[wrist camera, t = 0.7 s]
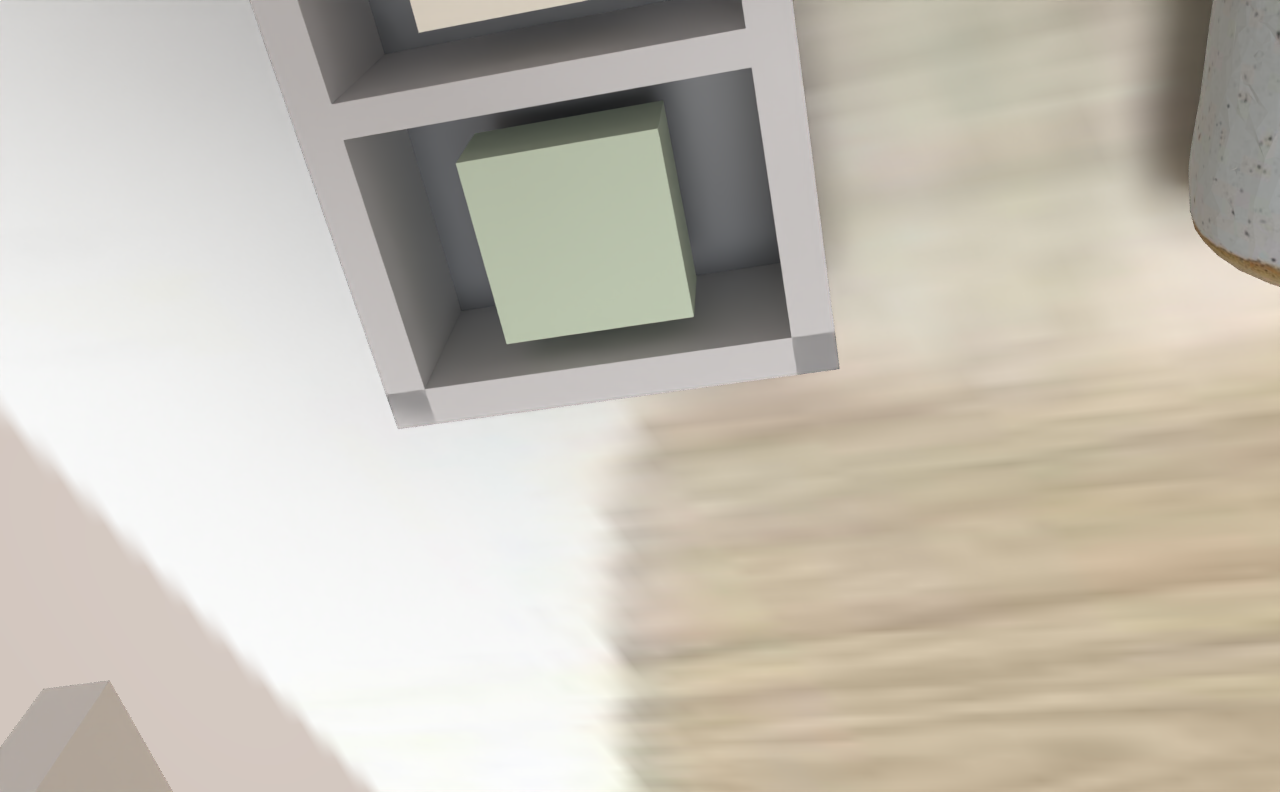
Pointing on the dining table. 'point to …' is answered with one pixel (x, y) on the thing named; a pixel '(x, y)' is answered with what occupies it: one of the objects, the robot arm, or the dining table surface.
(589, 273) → the key sage
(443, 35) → the grey compartment tray
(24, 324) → the dining table surface
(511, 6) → the key cream
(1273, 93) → the ceramic mug
